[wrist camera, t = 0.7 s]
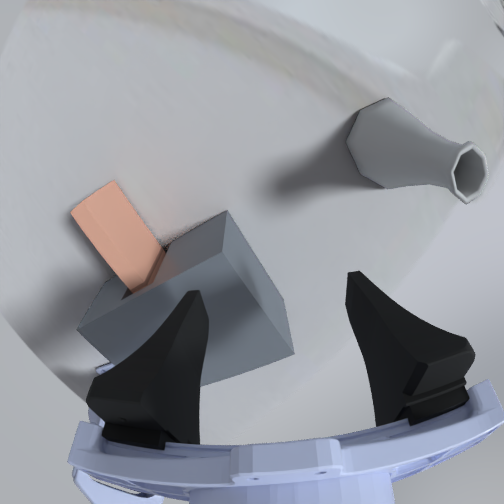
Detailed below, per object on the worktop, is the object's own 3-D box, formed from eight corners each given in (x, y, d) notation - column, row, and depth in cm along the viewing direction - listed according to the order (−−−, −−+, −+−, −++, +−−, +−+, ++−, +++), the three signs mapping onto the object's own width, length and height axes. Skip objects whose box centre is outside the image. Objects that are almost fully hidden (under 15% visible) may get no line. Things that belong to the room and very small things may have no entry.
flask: (328, 141, 19) (394, 169, 11) (386, 82, 17) (473, 78, 8) (384, 202, 22) (454, 261, 13) (434, 147, 19) (518, 179, 11)
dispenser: (167, 348, 29) (155, 398, 23) (105, 282, 24) (76, 329, 18) (283, 299, 26) (294, 353, 20) (227, 210, 22) (222, 251, 16)
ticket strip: (207, 325, 27) (203, 366, 22) (102, 189, 20) (69, 212, 15) (220, 320, 27) (217, 361, 22) (114, 179, 20) (82, 200, 15)
